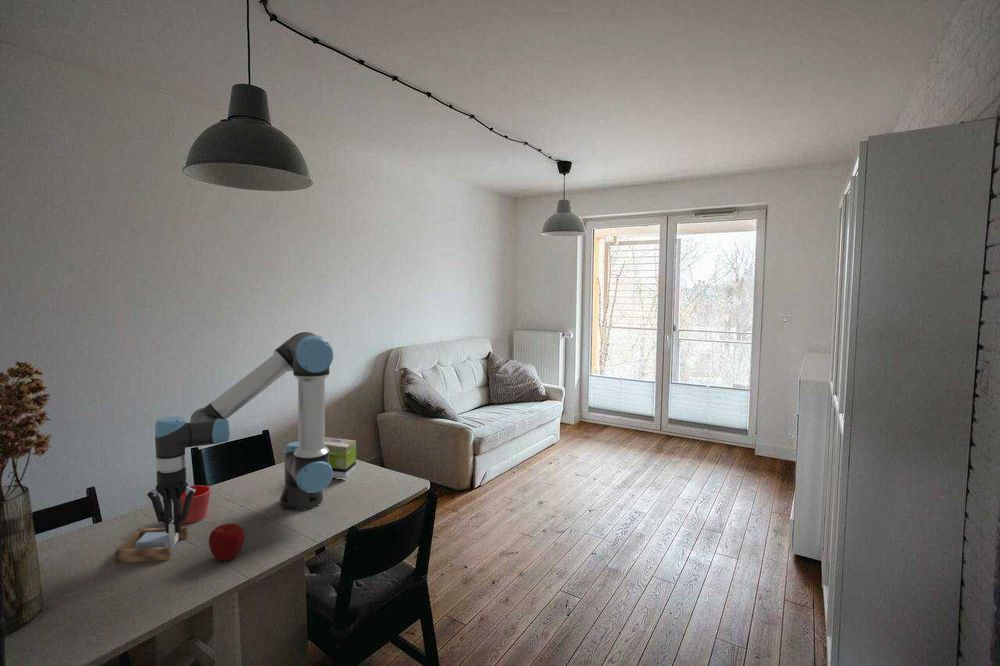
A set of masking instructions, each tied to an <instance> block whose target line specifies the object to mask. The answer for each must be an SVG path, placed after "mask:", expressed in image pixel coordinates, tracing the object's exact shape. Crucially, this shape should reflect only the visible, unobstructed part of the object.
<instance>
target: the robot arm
mask: <svg viewBox="0 0 1000 666" xmlns="http://www.w3.org/2000/svg"><path fill="white" fill-rule="evenodd" d="M333 360H334V349H333V347H332V346H331V344H330V343H329V342H328V341H327V340H326V339H325V338H324V337H322V336H320V335H316V334H314V333H313V332H308V331H303V332H302V331H301V332H298V333H295V334H294V335H292V336H291V337H290V338H288V339H287V340H286V341H284V342H282V344H281V345H279V346H278V347H277V348H275V349H274V350H273V354H272V355H271V356H270V357H269V358H267V359H266V360H265V361H264V362H263V363H261V364H259V365H257V367H256V368H254V369H253V370H251V371H250V372H249V373H247V374H246V375H245V376H244V377H242V378H241V379H240V380H239V381H237V382H236V383H235V384H233V385H232V386H231V387H230V388H228V389H226V390H225V391H224V392H223V393H222V394H221V395H219V396H218V397H216V398H215V399H214V400H212V401H211V402H210V403H208V404H207V405H205V406H204V407H201V408H197V409H196V410H194V411H193V413H191V416H190V421H189V422H186V421H185V418H184V417H183V416H178V415H177V416H173V415H172V416H166V417H162V418H160V419H158V420H156V422H155V424H154V443H155V444H154V445H155V459H156V460H155V463H156V465H155V467H156V468H155V469H156V486H155V488H153V489H151V490H150V491H149V492H147V495H146V496H147V498H149V499H150V501H151V503H152V507H153V510H154V514H155V517H156V519H157V522H158V523H164V524H165V527H164V528H166V533H169V545H173V544H175V545H176V543H177V542H178V541H179V539H178V533H179V532H180V531H181V527H182V522H181V521H184V520H185V519H186V518H187V517H188V513H189V509H190V505H191V501H192V497H193V494H194V493H195V492H196V488H193V489H192V488H190V487H189V483H188V482H187V467H186V464H187V463H186V462H187V461H186V448H193V447H202V446H211V445H218V444H223V443H227V442H228V441H229V440H230V433H231V432H230V423H229V420H228V419H229V418H230V417H231V416H233V415H234V414H235V413H236V412H238V411H239V410H240V409H242V408H243V407H244V406H245V405H246V404H247V403H249V402H250V401H252V400H253V399H255V398H256V397H257V396H258V395H259V394H260V393H262V392H263V391H265V389H267V388H268V387H269V386H271V385H272V384H273V383H275V382H276V381H277V380H279V379H280V378H282V377H283V376H284V375H286V374H287V372H293V376H294V377H295V378H296V379H297V381H298V382H297V383H298V384H297V385H298V386H297V390H298V391H297V394H298V396H297V397H298V398H297V402H298V403H297V405H298V406H297V407H298V408H297V409H298V411H297V412H298V413H297V414H298V417H297V418H298V421H297V422H298V423H297V424H298V426H297V427H298V431H297V432H298V434H297V435H298V436H297V437H298V439H297V440H296V441H292V442H289V443H287V444H286V445H285V446H284V452H283V455H284V486H283V488H282V491H281V493H280V494H281V495H280V498H279V506H280V508H281V509H283V510H286V511H290V510H293V511H292V512H296V511H295V510H301V511H306V510H305V509H307V510H310V509H309V508H311V509H313V508H312V507H314V506H316V505H318V504H320V503H321V502H322V500H323V501H324V494H323V493H324V492H323V490H324V489H326V488H327V487H328V486H329V485H330V484H331V482H332V480H333V479H332V477H333V471H332V467H331V465H330V464H329V449H328V448H327V447H326V446H325V437H326V436H325V434H326V432H325V429H326V423H325V421H326V420H325V419H326V418H325V417H326V414H325V412H326V411H325V410H326V409H325V408H326V407H325V406H326V404H325V403H326V392H325V391H326V389H325V388H326V378H327V377H328V376H329V375H330V366H331V365H332V363H333ZM184 491H186V495H187V496H186V498H185V502H184V506H183V510H182V514H181V497H182V494H183V493H184ZM160 496H161V497H162V500H161V497H160ZM322 503H323V502H322ZM322 503H321V504H322ZM321 504H320V505H321ZM318 506H319V505H318ZM316 507H317V506H316ZM314 508H315V507H314Z"/></svg>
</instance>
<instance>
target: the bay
mask: <svg viewBox="0 0 1000 666" xmlns="http://www.w3.org/2000/svg"><path fill="white" fill-rule="evenodd" d="M150 532H166V528H165V527H152V528H151V527H150V528H138V529H137V530H136V531H135V532H134V533H132V535H131V536H130V537H129V538H128V539H126V540H125V541H124V542H123V543H122V544H121V545H120V546H119V547H118V548H117V549H116V550H115V552H114V554H115V564H120V563H135V562H149V561H151V562H154V561H169V560H171V559H172V548H171V546H169V547H151V548H136V542H137V541H138V540H139V539H140V538H141V537H142V536H143V535H144V534H145V533H150ZM188 538H189V526H181V531H180V532H179V533H178V540H186V539H188Z"/></svg>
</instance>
